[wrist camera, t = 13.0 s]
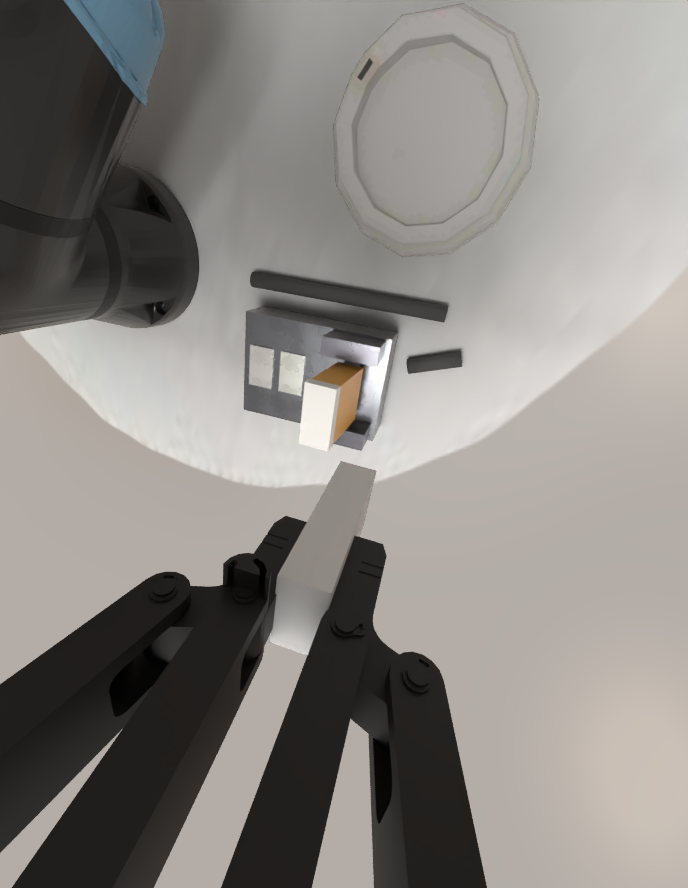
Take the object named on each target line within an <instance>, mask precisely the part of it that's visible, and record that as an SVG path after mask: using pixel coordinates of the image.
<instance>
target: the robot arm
mask: <svg viewBox="0 0 688 888" xmlns="http://www.w3.org/2000/svg"><path fill="white" fill-rule="evenodd" d="M164 38H165V25H164V19H163V14H162V11H161V8H160V5H159V2H158V0H0V335H1V334H7V333H13V332H18V331H24V330H30V329H35V328H41V327H47V326H53V325H58V324H64V323H70V322H75V321H81V320H88V319H94V320H98V321H103V322H107V323H112V324H116V325H121V326H125V327H131V328H148V327H153V326H158V325H163V324H166V323H168V322H171V321H173V320H174V319H176V318H177V317H178V316H180V315H181V314H182V313H183V312H184V311H185V309H186V308H187V307H188V305H189V304H190V302H191V300H192V298H193V295H194V293H195V290H196V286H197V281H198V273H199V259H198V250H197V245H196V240H195V237H194V233H193V230H192V227H191V225H190V222H189V220H188V218H187V216H186V214H185V212H184V210H183V208H182V207H181V205H180V204H179V202H178V201H177V199H176V198H175V197H174V195H173V194H172V193H171V192H170V191H169V190H168V189H167V188H166V187H165V186H164V185H163V184H162V183H161V182H160V181H159V180H157V179H156V178H155V177H153V176H152V175H150V174H148V173H147V172H145V171H143V170H140V169H138V168H135V167H131V166H128V165H124V164H121V163H118V161H119V159H120V156H121V154H122V152H123V150H124V147H125V145H126V143H127V140H128V138H129V136H130V133H131V131H132V129H133V126H134V124H135V122H136V119H137V117H138V115H139V113H140V110H141V108H142V106H143V105H144V106H146V105H147V102H148V95H147V91H148V87H149V84H150V81H151V78H152V76H153V73H154V70H155V67H156V64H157V62H158V59H159V56H160V53H161V50H162V48H163V44H164ZM375 475H376V471H375V470H372V469H368V468H364V467H361V466H357V465H353V464H350V463H346V462H342V461H341V462H340V464H339V465H338V467H337V469H336V471H335V473H334V474H333V476H332V478H331V480H330V482H329V483H328V485H327V487H326V489H325V491H324V493H323V494H322V496H321V498H320V500H319V502H318V503H317V505H316V507H315V509H314V511H313V512H312V514H311V516H310V518H309V520H308V521H307V522H304V521H301V520H298V519H294V518H291V517H288V516H285V517H283V518H282V519H280V520H279V521H277V522H276V523H274V524H273V526H272V527H271V529H270V530H269V532H268V534H267V535H266V537H265V538H264V539H263V541H262V543H261V544H260V545H259V547H258V548H257V550H256V551H255V553H254V554H251V553H244V554H238V555H236V556H233V557H231V558H229V559H228V560H227V561H226V562H225V563H224V564H223V585H220V586H214V587H202V586H190V582H189V580H188V579H187V578H186V577H185V576H184V575H182V574H179V573H177V572H163V573H159V574H155V575H154V576H152V577H150V578H148V579H146V580H145V581H143V582H142V583H141V584H139V585H138V586H136V587H135V588H134V589H132V590H131V591H129V592H128V593H127V594H125V595H124V596H122V597H121V598H120V599H118V600H117V601H116V602H114V603H113V604H111V605H110V606H109V607H107V608H106V609H104V610H103V611H102V612H100V613H99V614H98V615H96V616H95V617H93V618H92V619H91V620H89V621H88V622H86V623H85V624H84V625H82V626H81V627H79V628H78V629H77V630H75V631H74V632H72V633H71V634H70V635H68V636H67V637H66V638H64V639H63V640H61V641H60V642H59V643H57V644H56V645H54V646H53V647H52V648H50V649H49V650H47V651H46V652H45V653H43V654H42V655H40V656H39V657H38V658H36V659H35V660H33V661H32V662H31V663H29V664H28V665H27V666H25V667H24V668H23V669H21V670H20V671H18V672H17V673H16V674H14V675H13V676H11V677H10V678H8V679H7V680H6V681H4V682H3V683H2V684H0V852H1V851H2V850H3V849H4V848H5V847H6V846H7V845H8V844H9V843H10V842H11V841H12V840H13V839H14V838H15V837H16V836H17V835H18V834H19V833H20V832H21V831H22V830H23V829H24V828H25V827H26V826H27V825H28V824H29V823H30V822H31V821H32V820H33V819H34V818H35V817H36V816H37V815H38V814H39V813H40V812H41V811H42V810H43V809H44V808H45V807H46V806H47V805H48V804H49V803H50V802H51V801H52V800H53V799H54V798H55V797H56V796H57V795H58V793H59V792H60V791H62V790H63V788H64V787H65V786H66V785H67V784H68V783H69V782H70V781H71V780H72V779H73V778H74V777H75V776H76V775H77V774H78V773H79V772H80V771H81V770H82V769H83V768H84V767H85V766H86V765H87V764H88V763H89V762H90V761H91V760H92V759H93V758H94V757H95V756H96V755H97V754H98V753H99V752H100V751H101V750H102V749H103V748H104V747H105V746H106V745H107V744H108V743H109V742H110V740H112V739H113V738H114V737H115V736H116V735H117V733H119V732H120V730H121V729H122V731H121V732H120V734H119V735H118V737H117V738H116V739H115V741H114V742H113V744H112V745H111V747H110V748H109V749H108V751H107V752H106V754H105V755H104V757H103V758H102V759H101V761H100V763H99V764H98V765H97V767H96V768H95V769H94V771H93V772H92V774H91V775H90V777H89V778H88V780H87V781H86V782H85V784H84V785H83V787H82V788H81V790H80V791H79V792H78V794H77V795H76V797H75V798H74V800H73V801H72V803H71V804H70V805H69V807H68V808H67V810H66V811H65V812H64V814H63V815H62V817H61V818H60V820H59V821H58V822H57V824H56V825H55V827H54V828H53V830H52V831H51V832H50V834H49V835H48V837H47V838H46V840H45V841H44V842H43V844H42V845H41V847H40V848H39V850H38V851H37V853H36V854H35V855H34V857H33V858H32V860H31V861H30V862H29V864H28V865H27V867H26V868H25V870H24V871H23V872H22V874H21V875H20V877H19V878H18V880H17V881H16V882H15V884H14V885H13V887H12V888H154V886H155V884H156V881H157V879H158V877H159V875H160V873H161V871H162V869H163V867H164V864H165V863H166V860H167V858H168V856H169V854H170V852H171V850H172V848H173V846H174V844H175V842H176V839H177V837H178V835H179V833H180V831H181V829H182V827H183V825H184V823H185V820H186V818H187V816H188V814H189V812H190V810H191V808H192V805H193V804H194V801H195V799H196V797H197V795H198V793H199V791H200V789H201V786H202V785H203V783H204V780H205V778H206V776H207V774H208V772H209V770H210V768H211V766H212V764H213V761H214V759H215V757H216V755H217V753H218V751H219V749H220V747H221V745H222V742H223V740H224V738H225V736H226V734H227V732H228V730H229V728H230V726H231V724H232V721H233V719H234V717H235V715H236V713H237V711H238V709H239V707H240V704H241V702H242V700H243V698H244V696H245V694H246V692H247V690H248V688H249V686H250V684H251V681H252V679H253V677H254V675H255V673H256V671H257V669H258V667H259V665H260V662H261V660H262V656H263V652H264V645H265V643H266V641H267V639H268V637H269V635H270V633H271V635H270V642H271V643H274V644H276V645H279V646H282V647H285V648H288V649H291V650H294V651H296V652H299V653H302V654H305V655H307V658H306V661H305V663H304V666H303V669H302V672H301V674H300V677H299V680H298V682H297V685H296V688H295V690H294V693H293V696H292V699H291V701H290V704H289V707H288V709H287V712H286V715H285V717H284V720H283V723H282V725H281V728H280V731H279V733H278V736H277V739H276V741H275V744H274V747H273V750H272V752H271V755H270V758H269V761H268V763H267V766H266V768H265V771H264V774H263V776H262V779H261V782H260V785H259V787H258V790H257V793H256V795H255V798H254V801H253V803H252V806H251V809H250V812H249V814H248V817H247V819H246V822H245V825H244V828H243V830H242V833H241V836H240V838H239V841H238V844H237V846H236V849H235V852H234V855H233V857H232V860H231V863H230V865H229V868H228V870H227V873H226V876H225V879H224V881H223V884H222V887H221V888H312V884H313V879H314V875H315V870H316V866H317V862H318V857H319V853H320V848H321V844H322V840H323V835H324V831H325V826H326V822H327V818H328V813H329V809H330V805H331V800H332V795H333V792H334V787H335V783H336V779H337V774H338V770H339V765H340V761H341V757H342V752H343V748H344V743H345V739H346V735H347V730H348V726H349V722H350V718H351V719H352V720H353V721H354V722H355V723H357V724H358V725H359V726H360V727H362V728H363V729H364V730H365V731H366V732H367V733H368V734H369V757H370V786H371V814H372V841H373V869H374V888H487V886H486V881H485V876H484V872H483V867H482V862H481V857H480V853H479V848H478V843H477V838H476V833H475V829H474V824H473V819H472V814H471V809H470V805H469V800H468V795H467V790H466V786H465V781H464V776H463V771H462V766H461V761H460V757H459V752H458V747H457V742H456V737H455V733H454V728H453V723H452V718H451V713H450V709H449V704H448V699H447V694H446V690H445V685H444V681H443V678H442V675H441V673H440V670H439V669H438V668H437V667H436V666H435V664H434V663H433V662H432V661H431V660H430V659H428V658H427V657H425V656H424V655H422V654H418V653H415V652H405V653H402V654H400V655H399V654H398V653H396V652H395V651H393V650H392V649H390V648H389V647H388V646H387V645H386V644H384V643H383V642H382V641H381V640H380V638H379V637H378V636H377V634H376V632H375V630H374V627H373V613H374V608H375V604H376V600H377V595H378V591H379V587H380V582H381V577H382V573H383V568H384V565H385V559H386V553H385V550H384V546H383V544H380V543H377V542H374V541H371V540H367V539H364V538H361V537H360V533H361V530H362V528H363V525H364V521H365V517H366V513H367V508H368V504H369V500H370V496H371V491H372V487H373V483H374V479H375Z"/></svg>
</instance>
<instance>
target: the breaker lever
mask: <svg viewBox="0 0 688 888" xmlns="http://www.w3.org/2000/svg"><path fill="white" fill-rule="evenodd" d="M362 374H363V367H360V363H356V362H351V361H346V360H345V363H341V362H337V363H335V364H334V365H332V366H331V367H329V368H327V369H326V370H324V371H323V372H321V373H320V374H318V375H316V376H315V377H313V378H312V379H308V380H307V381H305V384H304V394H303V405H302V415H301V425H300V435H299V443H300V444H303V445H307V446H310V447H314V448H317V449H321V450H324V451H329V450H330V449H331V448H332V446H333V444H334V443H335V442H336V441H337V439H338V438H339V437H340V436H341V435H342V434H343V433H344V431H345V430H346V429H347V428H348V427H349V426H350V424H351V423H352V422H353V421H354V420H355V416H356V410H357V404H358V398H359V392H360V386H361V380H362Z"/></svg>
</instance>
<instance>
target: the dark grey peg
mask: <svg viewBox="0 0 688 888" xmlns="http://www.w3.org/2000/svg"><path fill="white" fill-rule="evenodd" d="M455 367H462V360H461V352H454V353H447V354H440V355H433V356H426V357H419V358H413V359H407V370H408V374H411V373H418V372H426V371H433V370H440V369H448V368H455Z"/></svg>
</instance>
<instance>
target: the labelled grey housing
mask: <svg viewBox="0 0 688 888" xmlns="http://www.w3.org/2000/svg"><path fill="white" fill-rule="evenodd" d="M397 337H398V332H392V331H387V330H382V329H377V328H372V327H367V326H362V325H356V324H351V323H346V322H341V321H336V320H331V319H325V318H320V317H315V316H310V315H305V314H300V313H294V312H289V311H284V310H279V309H274V308H269V307H261V308H257V309H253V310H249V311H246V339H245V380H244V410H248V411H253V412H257V413H261V414H265V415H269V416H273V417H277V418H281V419H285V420H289V421H293V422H298V423H301V415H302V405H303V394H304V384H305V381H307V380H308V379H312V378H313V377H315V376H316V375H318V374H320V373H321V372H323V371H324V370H326V369H327V368H329V367H331V366H332V365H334V364H335V363H337V362H341V363H345V360H346V361H351V362H356V363H360V367H363V374H362V380H361V386H360V392H359V398H358V404H357V410H356V416H355V420H354V421H353V422H352V423H351V424H350V426H349V427H348V428H347V429H346V430H345V431H344V433H343V434H342V435H341V436H340V437H339V438H338V439H337V441H336V442H335V443H334V444H336V445H340V446H344V447H348V448H352V449H356V450H360V451H362V449H363V447H364V445H365V443H366V441H367V440H371V441H373V439H374V437H375V435H376V433H377V430H378V428H379V426H380V422H381V417H382V412H383V407H384V402H385V397H386V392H387V387H388V382H389V377H390V372H391V367H392V362H393V357H394V352H395V347H396V342H397Z"/></svg>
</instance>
